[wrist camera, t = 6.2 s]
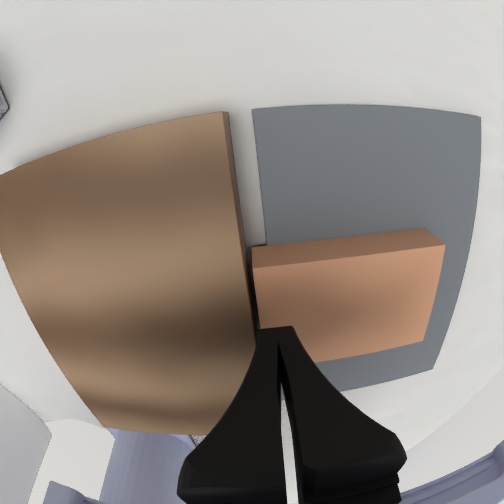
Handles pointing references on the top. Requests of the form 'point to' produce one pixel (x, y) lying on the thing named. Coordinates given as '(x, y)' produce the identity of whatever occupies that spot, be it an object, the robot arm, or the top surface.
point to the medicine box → (2, 104)
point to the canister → (19, 448)
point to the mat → (373, 199)
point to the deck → (137, 271)
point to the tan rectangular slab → (350, 290)
